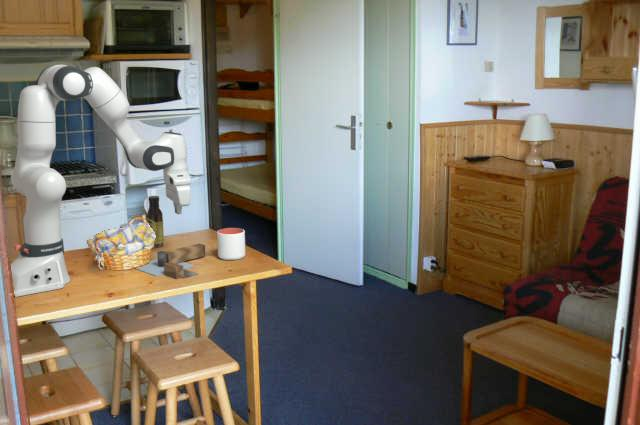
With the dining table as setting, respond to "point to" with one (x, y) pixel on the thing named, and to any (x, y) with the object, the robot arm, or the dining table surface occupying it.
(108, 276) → the dining table surface
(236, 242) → the cup
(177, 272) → the stop block
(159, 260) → the leg
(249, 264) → the dining table surface
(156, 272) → the blue-grey square mat
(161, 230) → the sauce bottle
